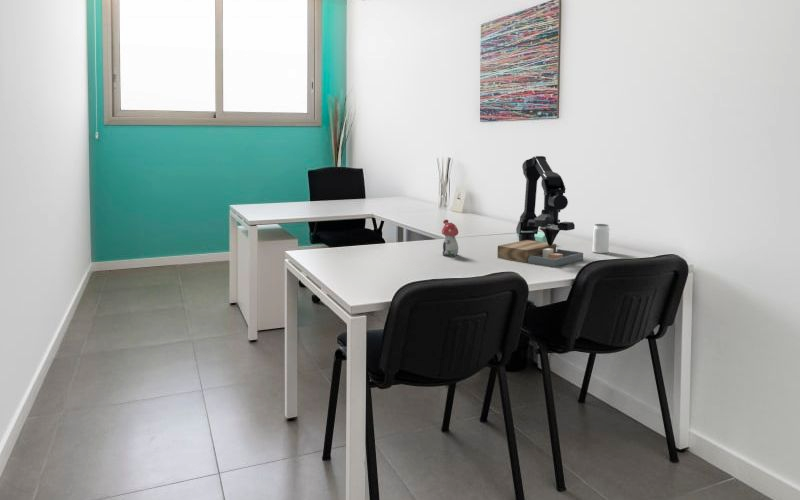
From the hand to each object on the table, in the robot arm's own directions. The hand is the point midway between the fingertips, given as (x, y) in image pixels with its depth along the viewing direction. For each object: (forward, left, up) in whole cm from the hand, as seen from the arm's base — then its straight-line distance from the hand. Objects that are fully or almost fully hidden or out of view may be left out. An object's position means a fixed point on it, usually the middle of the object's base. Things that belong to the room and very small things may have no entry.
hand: (550, 245), depth 246 cm
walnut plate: (-11, 0, -6) cm, 13 cm away
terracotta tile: (+3, 0, -3) cm, 4 cm away
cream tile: (-3, +1, -4) cm, 4 cm away
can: (+5, +30, -6) cm, 31 cm away
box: (+3, 0, -6) cm, 7 cm away
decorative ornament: (-37, -20, -6) cm, 42 cm away
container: (-33, +34, -7) cm, 48 cm away
